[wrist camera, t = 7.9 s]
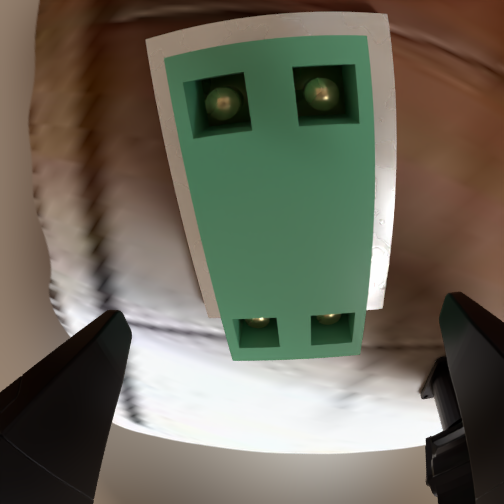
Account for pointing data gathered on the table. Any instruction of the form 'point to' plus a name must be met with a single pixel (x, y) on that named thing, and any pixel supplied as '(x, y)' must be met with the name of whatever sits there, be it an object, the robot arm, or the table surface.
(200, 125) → the board
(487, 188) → the table surface
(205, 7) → the table surface
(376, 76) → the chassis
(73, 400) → the robot arm
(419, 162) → the table surface
